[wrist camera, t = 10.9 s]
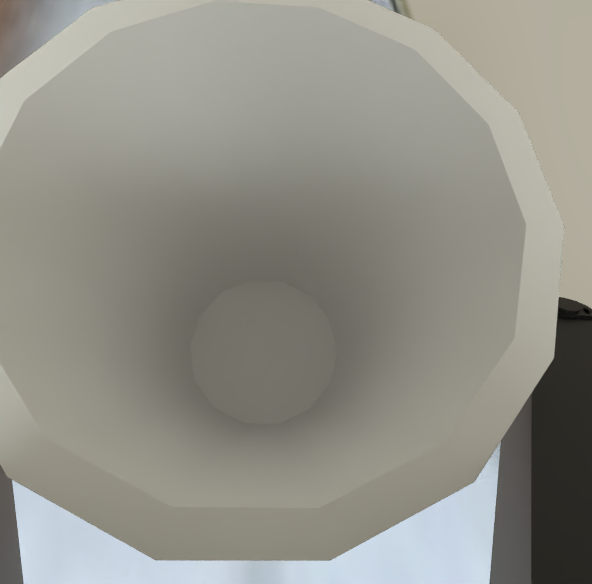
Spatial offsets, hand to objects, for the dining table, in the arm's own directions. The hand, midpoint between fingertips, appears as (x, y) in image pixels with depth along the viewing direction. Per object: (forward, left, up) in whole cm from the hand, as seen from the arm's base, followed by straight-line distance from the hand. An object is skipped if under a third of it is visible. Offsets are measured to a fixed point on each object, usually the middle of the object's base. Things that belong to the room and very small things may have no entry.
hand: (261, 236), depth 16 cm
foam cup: (+2, -2, -5) cm, 6 cm away
